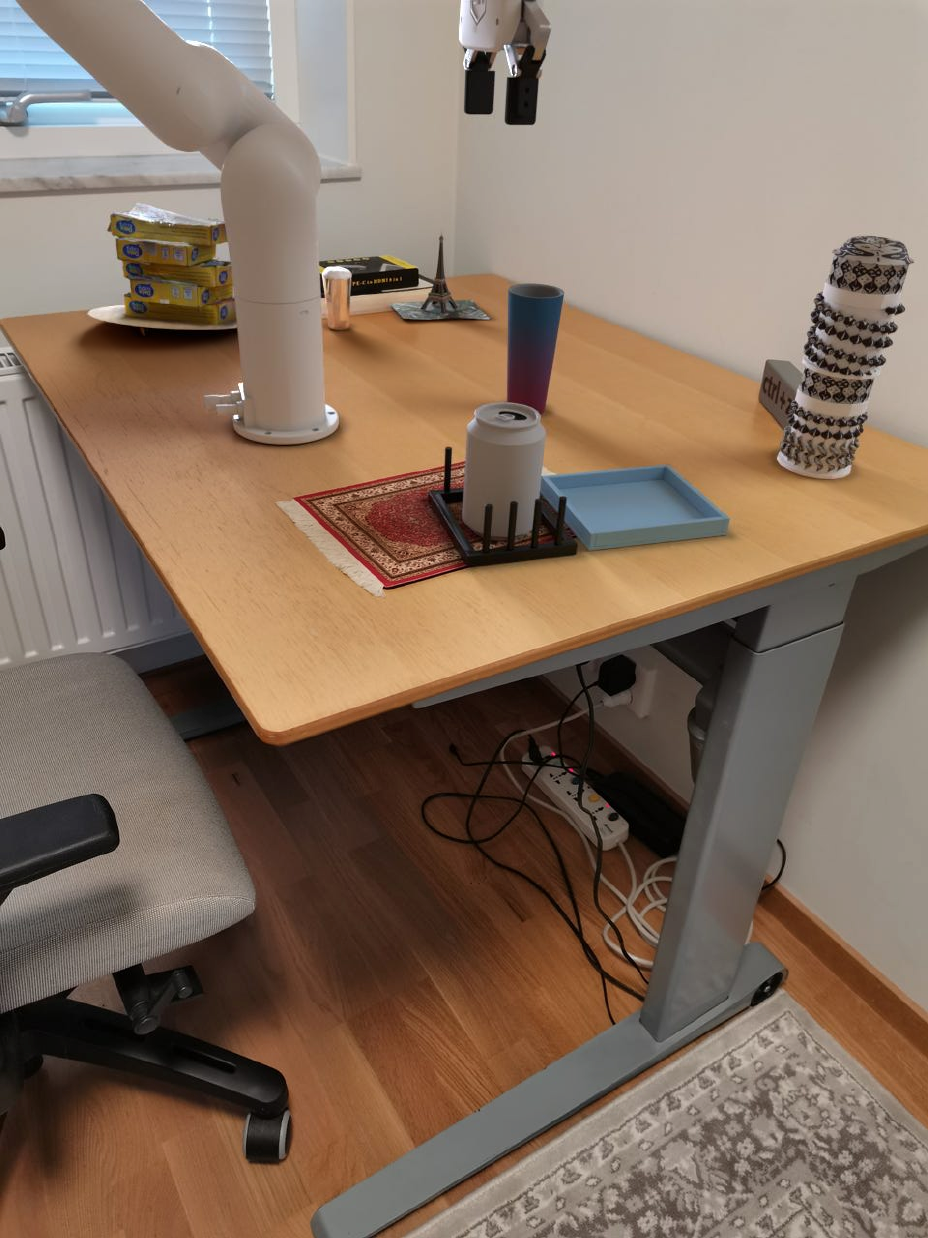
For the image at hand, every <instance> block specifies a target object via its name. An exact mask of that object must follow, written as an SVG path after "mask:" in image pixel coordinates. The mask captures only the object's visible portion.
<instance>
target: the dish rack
mask: <svg viewBox="0 0 928 1238" xmlns="http://www.w3.org/2000/svg"><path fill="white" fill-rule="evenodd" d="M452 458H453V447H452V446H445V448H444V467H443V470H444V471H443V488H442V489H431V490H428V491H427V501H428V504H429V505H430V507H431V508H432V510H433V511H434V513H435V515H436V517H437V518H438V520H439V522H440V524H441V525H442V527H443V529H444V530H445V532H446V534H447V535H448V537H449V539H450V540H451V542H452V545H454V547H455V549H456V550H457V552H458V554H459V555H460V557H461V560H463V562H464V564H465V566H466V567H467V568H472V567H473V568H474V567H482V566H490V565H498V564H507V563H516V562H524V561H525V562H526V561H533V560H541V559H549V558H559V557H566V556H575V555H577V554H578V548H579V543H578V542H577V540H576V539H575V538H574V537H573V535H571V533H569V531H568V530H567V529H566V527H565V522H564V519H565V511H566V503H567V497H565V496H561V497H560V498H559V506H558V513H556V514H557V516H556V515H555V514H554V513H553V511H552V510H551V509H550V507H548V505H547V503H545V502H544V501H543V499H542V498H541V496H539V499H536V500H535V506H534V516H533V526H532V530H531V538H530V543H528V544H519V545H515V543H516V539H515V532H516V521H517V510H518V502H516V501H512V502H511V503H510V513H509V525H508V537H507V540H506V546H500V547H494V548H492V547H491V542H492V541H491V527H492V513H493V505H492V504H486V505H485V516H484V532H483V537H482V548H481V549H475V548H474V546H473V545H472V543H471V542H470V540H469V538H468V537H467V535H466V533H465V532H464V531H463V529H462V527H461V526H460V523H459V522H458V521H457V519H456V518H455V516H454V514H453V513H452V511H451V509H450V508H449V506H448V505H447V504H453V503H463V493H464V486H463V487H453V488H452V487H451V482H452V460H453V459H452ZM541 524H542V525H543V527H544V528H545V529H546V530H547V532H548V533H549V534H550V535H551V536H552V538H553V539H554V541H545V542H539V541H540V531H541Z"/></svg>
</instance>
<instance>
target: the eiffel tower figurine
mask: <svg viewBox="0 0 928 1238" xmlns="http://www.w3.org/2000/svg"><path fill="white" fill-rule="evenodd" d="M442 233H443V230H442V228H441V230H440V236H439V238H438V241H439V243H438V244H439V245H438V255H437V265H436V273H435V278H433V279H434V281H433V285H432V288H431V290H430V292H428V294H427V297H426V298H425V300H422V301H405V302H393V303H389V305H390V306H391V307H392V308H393V310H395V311H396V312H397V313H398V315H399V316H401V318H402V319H406V320H407V319H409V320H441V319H443V320H448V319H469V320H470V319H474V320H491V318H490V317H489V316H488V315H487V314H486V313H485V312H484V311H483V310H482V308H480V307H479V306H478V304H477V303H476V302H475V301H473V300H472V299H457V300H455V299H453V297H452V292H451V291H449V289H448V284H447V281H446V280H447V278H446V275H445V265H444V236H443V234H442Z"/></svg>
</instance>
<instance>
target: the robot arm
mask: <svg viewBox="0 0 928 1238" xmlns="http://www.w3.org/2000/svg"><path fill="white" fill-rule="evenodd" d="M15 2H16V3H17V5H18V6H19V7H20V8H21V9H22V10H23V12H25V14H26V15H27V16H28V17H29V18H30V19H31V20H32V22H34V23H35V24H36V25H37V27H39V28H40V30H42V32H43V33H45V34H46V35H47V36H48V37H49V39H51V40H52V41H53V42H54V43H55V44H56V45H58V46H59V48H61V49H62V50H63V51H64V52H65V53H66V54H67V55H68V56H69V57H71V58H72V59H73V60H74V61H75V62H76V63H77V64H78V65H79V66H80V67H82V68H83V70H85V71H86V73H88V74H89V75H90V76H91V77H92V78H93V80H95V81H96V82H97V84H99V85H100V86H102V88H103V89H104V90H106V92H107V93H109V94H110V95H111V96H112V97H113V98H114V99H115V100H116V101H118V102H119V104H121V105H122V106H123V107H124V108H125V109H126V110H127V111H128V112H130V113H131V114H132V115H133V116H134V118H136V119H137V120H138V121H139V122H140V123H141V124H142V125H143V126H144V127H145V128H146V129H147V130H148V131H149V132H150V133H151V134H152V135H153V136H155V137H156V139H158V140H159V141H160V142H162V143H163V144H165V145H166V146H167V147H169V148H171V149H174V150H176V151H180V152H184V153H195V152H199V154H201V155H202V156H204V158H205V159H207V160H208V161H209V162H210V163H211V164H212V165H213V166H215V167H216V169H218V171H220V172H221V173H220V174H221V175H220V190H219V191H220V201H221V208H222V214H223V215H222V216H223V221H225V227H226V233H227V239H228V242H227V245H228V251H229V253H228V254H229V260H230V262H231V270H232V281H233V297H235V308H236V319H237V328H236V329H237V340H238V350H239V351H238V352H239V361H240V372H241V383H240V382H239V383H238V384H237V386H238V390H233V391H232V390H231V391H230V394H207V395H206V394H204V395H203V403H204V404H203V405H204V410H205V413H207V412H208V413H211V412H216V417H217V418H221V417H229V416H232V427H233V430H234V432H236V433H237V434H238V435H239V436H241V437H243V438H244V439H247V440H249V441H253V442H257V443H260V444H268V445H278V446H279V445H282V446H283V445H287V446H288V445H289V446H290V445H301V444H307V443H312V442H316V441H318V440H322V439H325V438H326V437H329V436H331V435H332V434H333V433H334V432H336V430H338V427H339V425H340V421H339V420H340V418H339V414H338V412H337V410H336V409H334V408H333V407H332V406H331V405H328V404H326V390H325V389H326V387H325V369H324V368H325V365H324V364H325V363H324V342H323V339H324V338H323V317H322V293H321V275H320V274H321V273H320V257H319V241H318V239H319V238H318V224H317V196H318V193H319V190H320V186H321V182H322V180H321V179H322V167H321V165H322V164H321V161H320V157H319V154H318V152H317V150H316V147H315V145H314V144H313V142H312V141H311V139H310V138H309V137H308V136H307V134H306V133H304V132H303V130H302V129H301V128H300V127H299V126H298V125H297V123H295V122H294V121H293V120H292V119H291V118H290V117H289V116H288V115H287V114H286V113H284V111H283V110H282V109H281V108H279V106H277V104H275V102H273V101H272V99H271V98H269V97H268V96H267V94H265V93H264V92H263V91H262V90H261V89H260V88H259V86H257V85H256V84H255V83H254V82H253V80H251V79H250V78H249V77H248V76H247V75H246V74H245V73H244V72H243V71H242V70H241V69H240V68H239V67H238V66H236V64H235V63H234V62H233V61H231V60H230V59H229V58H227V57H226V56H225V55H224V54H223V53H221V52H220V51H219V50H217V48H214V47H213V46H210V45H208V44H206V43H202V42H199V41H194V40H185V39H184V38H183V37H182V36H181V35H179V34H178V32H176V31H175V30H173V29H172V28H171V27H170V26H169V25H168V24H167V23H166V22H165V21H164V20H162V18H160V16H159V15H158V14H156V12H154V11H153V10H152V9H151V8H150V7H149V6H148V5H147V4H146V3H145V2H144V0H15ZM546 3H547V0H461V1H460V13H459V14H460V17H459V34H458V35H459V36H458V38H459V42H460V44H461V46H462V49H463V51H464V58H463V68H464V90H463V91H464V93H463V94H464V95H463V112H464V114H466V115H474V116H475V115H483V116H484V115H487V116H489V115H492V114H493V111H494V100H495V82H496V81H495V80H496V70H492V67H493V65H494V62H495V59H496V58H497V57H496V56H497V54H498V53H500V52H501V51H504V52H505V53H506V58H507V59H506V60H507V63H508V66H509V70H510V75H511V76H507V77H506V86H505V88H506V89H505V104H504V123H505V125H508V126H534V125H535V124H536V121H537V109H538V98H539V97H538V96H539V86H540V85H539V84H540V83H539V82H540V78H541V77H542V74H543V67H542V66H543V63H544V61H545V59H546V57H547V46H548V44H549V43H548V42H549V39H550V36H551V32H552V25H551V23H550V21H549V19H548V18H547V16H546V7H547V6H546V5H547V4H546ZM520 56H521V57H520Z"/></svg>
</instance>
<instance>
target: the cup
mask: <svg viewBox="0 0 928 1238" xmlns="http://www.w3.org/2000/svg"><path fill="white" fill-rule="evenodd" d="M564 297H565V291H564V290H563V289H562V288H560V287H558V286H554V285H549V284H544V283H529V282H528V283H527V282H526V283H517V284H513V285H510V286H509V287H508V289H507V355H506V356H507V357H506V359H507V360H506V361H507V364H506V402H508V403H517V404H522V405H526V406H528V407H531V408H533V409H535V410H536V411H538V412H539V414H540V415H542V414H544V413H545V411H546V406H547V401H548V394H549V389H550V382H551V377H552V371H553V366H554V365H553V364H554V358H555V353H556V346H557V339H558V335H559V334H558V333H559V327H560V321H561V314H562V310H563V304H564Z"/></svg>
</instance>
